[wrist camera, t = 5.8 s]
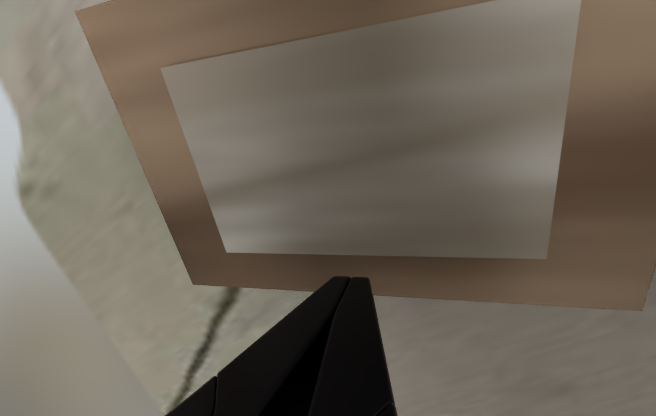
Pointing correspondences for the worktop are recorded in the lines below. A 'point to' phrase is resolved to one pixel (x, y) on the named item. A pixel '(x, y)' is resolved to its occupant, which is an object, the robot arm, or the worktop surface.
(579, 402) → the worktop surface
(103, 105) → the worktop surface
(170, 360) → the worktop surface
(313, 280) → the brown box
